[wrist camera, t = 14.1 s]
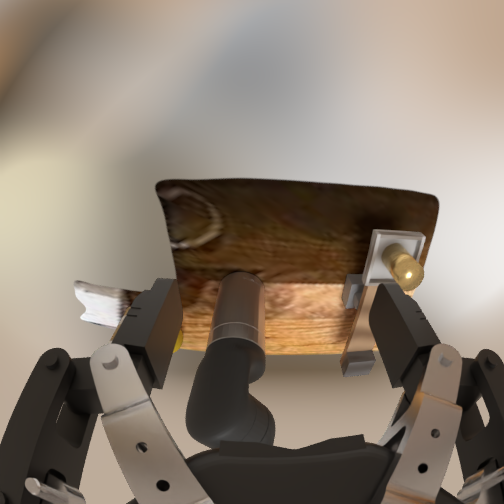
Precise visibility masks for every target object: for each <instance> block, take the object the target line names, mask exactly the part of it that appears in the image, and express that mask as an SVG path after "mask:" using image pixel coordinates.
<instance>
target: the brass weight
mask: <svg viewBox="0 0 504 504" xmlns="http://www.w3.org/2000/svg"><path fill="white" fill-rule="evenodd" d="M382 263H383V264H384V266H385V267H386V268H387V270H388V271H389V273H390V274H391V275H392V277H393V278H394V280H395V281H396V283H398V284H399V285H400V287H401V289H402V290H404V291H411V290H413V289H415V288H416V287H418V286H419V285H420V283H421V282H422V280H423V278H424V270H423V268H422V266H421V265H420V264H419V263H418V262H417V261H416V260H415V259H414V258H413V257H412V256H411V254H410V253H409V252H408V251H407V250H406V249H405V248H404V247H403V246H402V245H401V244H399V243H393V244H390V245H389V246H387V247H386V248H385V249H384V251H383V253H382Z"/></svg>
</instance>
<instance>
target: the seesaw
mask: <svg viewBox="0 0 504 504" xmlns="http://www.w3.org/2000/svg"><path fill="white" fill-rule="evenodd" d="M425 238H426V237H425V236H424V235H423V234H422V233H421V232H409V231H397V230H380V229H378V230H377V229H373V233H372V238H371V242H370V247H369V251H368V256H367V260H366V264H365V268H364V272H363V276H362V282H363V284H364V289H363V293H362V296H361V299H360V303H359V306H358V309H357V313H356V316H355V319H354V322H353V325H352V328H351V331H350V334H349V337H348V340H347V343H346V346H345V349H344V351H343V354H342V357H341V360H340V364H341V368H342V372H343V376H344V377H348V376H359V375H367V374H369V373H370V371H371V369H372V367H373V365H374V363H375V361H376V360H375V357H374V354H373V351H372V349H373V347H374V345H375V339H374V337H373V334H372V332H371V329H370V326H369V312H370V309H371V306H372V303H373V300H374V297H375V294H376V291H377V287H378V285H379V284H380V283H396V281H395V280H394V278H393V277H392V275H391V274H390V273H389V271H388V270H387V268H386V267H385V266H384V264H383V263H382V253H383V251H384V249H385V248H386V247H387V246H389V245H390V244H393V243H399V244H401V245H402V246H403V247H404V248H405V249H406V250H407V251H408V252H409V253H410V254H411V256H412V257H413V258H414V259H415V260H416V261H417V262H419V258H420V255H421V252H422V248H423V245H424V241H425Z"/></svg>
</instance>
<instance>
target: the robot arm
mask: <svg viewBox="0 0 504 504" xmlns="http://www.w3.org/2000/svg"><path fill="white" fill-rule="evenodd" d="M126 315H127V316H125V318H124V320H123V322H122V323H121V325H120V327H119V329H118V331H117V333H116V335H115V337H114V339H113V341H112V343H111V344H107V345H104V346H101V347H100V348H98V349H97V350H96V351H95V352H94V353H93V355H92V356H91V357H87V358H73V359H71V358H70V357H69V355H68V353H67V352H66V351H65V350H64V349H61V348H53V349H50V350H48V351H46V352H45V353H44V354H42V356H41V357H40V359H39V360H38V362H37V364H36V366H35V368H34V369H33V371H32V373H31V375H30V377H29V379H28V381H27V383H26V385H25V387H24V389H23V391H22V393H21V396H20V398H19V400H18V402H17V404H16V406H15V409H14V411H13V413H12V416H11V418H10V420H9V423H8V425H7V428H6V431H5V433H4V436H3V439H2V441H1V444H0V504H86V501H85V499H84V497H83V495H82V494H81V492H80V491H79V485H80V481H81V477H82V472H83V468H84V464H85V459H86V456H87V451H88V448H89V444H90V441H91V437H92V433H93V430H94V427H95V423H96V420H97V417H98V414H99V413H104V415H102V416H101V420H102V424H103V427H104V429H105V432H106V435H107V437H108V440H109V442H110V445H111V447H112V450H113V452H114V455H115V457H116V459H117V462H118V464H119V466H120V468H121V470H122V473H123V474H124V477H125V479H126V481H127V483H128V485H129V487H130V489H131V491H132V492H133V494H134V496H135V498H134V499H133V500H131V501H130V502H128V503H127V504H504V364H503V362H502V360H501V359H500V357H499V356H498V355H497V354H496V353H495V352H493V351H492V350H489V349H483V350H481V351H480V352H479V354H478V355H477V357H476V358H475V359H471V358H462V357H461V356H460V354H459V352H458V351H457V350H456V349H455V348H453V347H452V346H450V345H447V344H441V342H440V340H439V339H438V337H437V336H436V333H435V332H434V330H433V328H432V327H431V325H430V323H429V322H428V320H426V317H425V315H424V313H422V310H421V309H420V307H419V306H418V304H417V302H416V301H415V300H413V299H412V298H411V297H410V296H409V295H405V293H404V292H403V290H402V289H401V287H400V285H399V284H398V283H380V284H379V285H378V287H377V291H376V294H375V297H374V300H373V303H372V306H371V309H370V312H369V326H370V329H371V332H372V334H373V337H374V339H375V342H376V344H377V347H378V349H379V352H380V355H381V357H382V360H383V363H384V365H385V368H386V371H387V374H388V376H389V379H390V382H391V385H392V388H397V387H402V386H403V388H404V390H405V391H404V392H403V393H402V395H401V397H400V400H399V403H398V405H397V407H396V410H395V412H394V414H393V416H392V419H391V421H390V423H389V425H388V428H387V430H386V432H385V433H384V435H383V436H382V438H381V439H380V440H379V442H378V443H377V444H374V443H368V442H365V440H364V436H363V434H361V435H355V436H348V437H341V438H332V439H328V440H325V441H323V442H320V443H317V444H313V445H310V446H307V447H303V448H300V449H287V448H282V447H277V446H273V443H274V437H275V421H274V418H273V415H272V414H271V412H270V411H269V410H268V408H267V407H266V406H265V405H263V404H262V403H261V402H259V401H258V400H257V399H256V398H254V397H253V396H252V395H251V394H249V391H248V388H249V384H250V383H252V382H255V381H256V380H258V379H259V378H260V377H261V376H262V375H263V373H264V371H265V290H264V285H263V283H262V282H261V280H260V279H259V278H258V277H256V276H255V275H253V274H250V273H246V272H235V273H232V274H229V275H227V276H226V277H225V278H224V279H223V280H222V281H221V283H220V286H219V290H218V295H217V299H216V304H215V308H214V313H213V318H212V323H211V328H210V333H209V339H208V344H207V349H206V353H205V356H204V358H203V360H202V361H201V363H200V365H199V367H198V369H197V372H196V375H195V379H194V383H193V386H192V390H191V394H190V397H189V401H188V405H187V409H186V427H187V430H188V432H189V434H190V435H191V437H192V438H194V439H195V440H196V441H198V442H200V443H201V444H204V445H205V446H207V447H209V448H211V450H207V451H203V452H200V453H198V454H195V455H193V456H191V457H189V458H187V459H185V457H184V456H183V454H182V452H181V451H180V449H179V448H178V446H177V445H176V443H175V441H174V440H173V438H172V436H171V435H170V433H169V431H168V430H167V428H166V426H165V424H164V423H163V421H162V419H161V417H160V415H159V413H158V411H157V410H156V408H155V406H154V404H153V402H152V400H151V398H150V394H151V391H152V388H157V389H162V388H163V385H164V381H165V378H166V374H167V370H168V367H169V364H170V360H171V357H172V354H173V351H174V348H175V344H176V341H177V338H178V335H179V331H180V328H181V325H182V320H183V310H182V304H181V298H180V293H179V287H178V282H177V280H176V279H163V278H158V279H156V281H155V283H154V285H153V287H152V288H151V290H144V291H143V292H142V293H141V294H139V295H138V296H137V297H136V298H135V300H134V301H133V303H132V305H131V308H130V309H129V310H128V312H127V314H126ZM481 397H483V399H484V402H485V404H486V407H487V409H488V412H489V416H490V419H489V423H488V425H487V426H486V427H485V426H484V423H483V420H482V417H481V415H480V412H479V409H478V406H477V404H476V402H477V401H478V400H479V399H480V398H481ZM62 405H63V406H62ZM61 407H62V409H61ZM60 410H61V411H60ZM59 413H60V414H59ZM58 415H59V417H58ZM57 418H58V420H57ZM56 421H57V422H56ZM454 444H456V447H457V452H458V456H459V460H460V464H461V469H462V473H463V479H464V484H463V487H462V489H461V490H460V491H459V492H458V494H457V498H456V497H455V496H453V495H452V494H450V493H449V492H447V491H446V490H444V489H443V488H441V483H442V481H443V479H444V476H445V473H446V470H447V467H448V464H449V461H450V458H451V455H452V451H453V448H454Z"/></svg>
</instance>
